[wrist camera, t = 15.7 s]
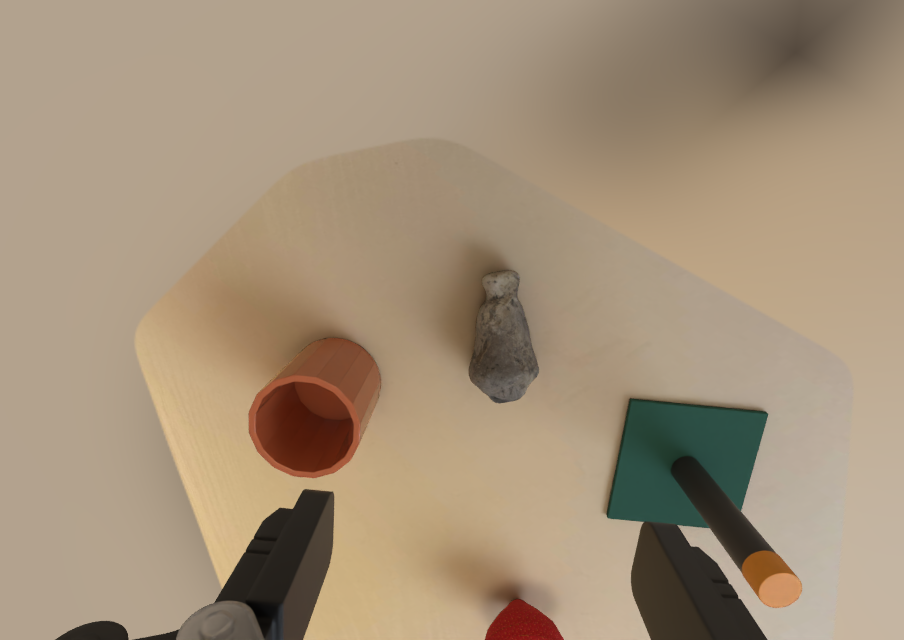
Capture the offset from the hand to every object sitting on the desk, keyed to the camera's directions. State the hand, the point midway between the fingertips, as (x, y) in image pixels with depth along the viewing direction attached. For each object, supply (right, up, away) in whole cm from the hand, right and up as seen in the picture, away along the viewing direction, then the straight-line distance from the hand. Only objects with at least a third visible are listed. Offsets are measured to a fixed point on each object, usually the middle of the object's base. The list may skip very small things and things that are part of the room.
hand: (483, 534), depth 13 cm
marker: (+20, -8, +32) cm, 39 cm away
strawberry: (+6, -23, +37) cm, 44 cm away
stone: (+3, +5, +30) cm, 30 cm away
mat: (+20, -8, +32) cm, 39 cm away
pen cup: (-11, 0, +31) cm, 33 cm away
